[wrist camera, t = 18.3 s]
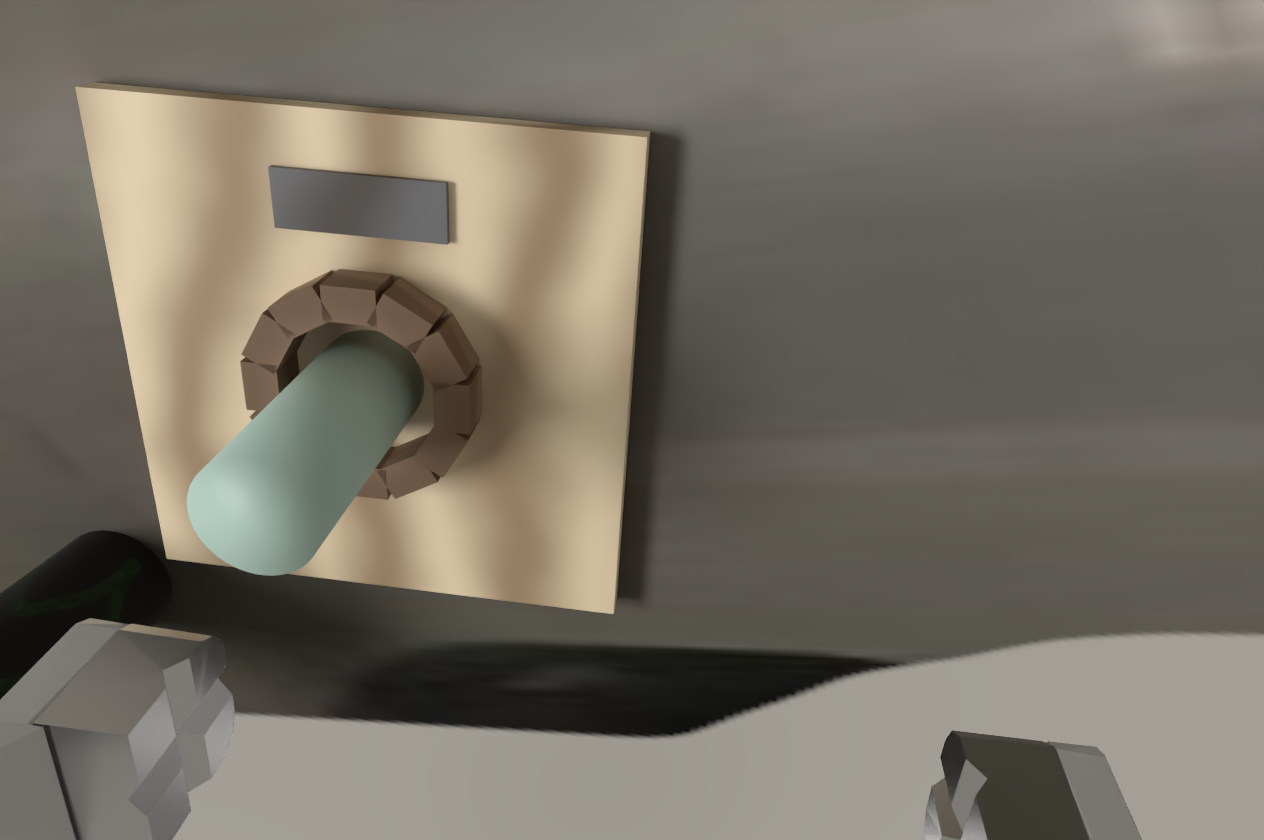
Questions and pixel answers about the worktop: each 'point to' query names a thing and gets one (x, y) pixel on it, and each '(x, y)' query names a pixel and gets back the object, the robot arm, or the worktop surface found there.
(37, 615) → the cup
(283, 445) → the peg
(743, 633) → the worktop surface
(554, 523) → the socket board
